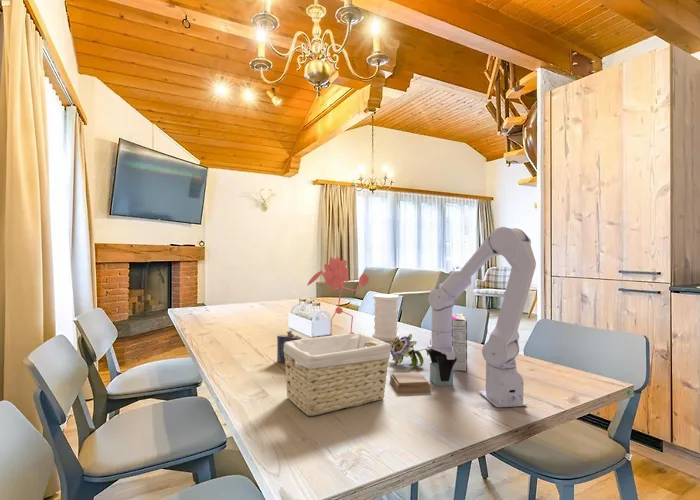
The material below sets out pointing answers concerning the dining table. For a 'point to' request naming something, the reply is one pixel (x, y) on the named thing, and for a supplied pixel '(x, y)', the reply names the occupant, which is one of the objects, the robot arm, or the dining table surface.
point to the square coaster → (409, 382)
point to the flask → (280, 345)
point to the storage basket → (335, 371)
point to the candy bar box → (459, 341)
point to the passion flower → (405, 350)
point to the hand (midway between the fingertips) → (441, 377)
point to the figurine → (338, 280)
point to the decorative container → (385, 317)
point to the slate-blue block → (436, 375)
